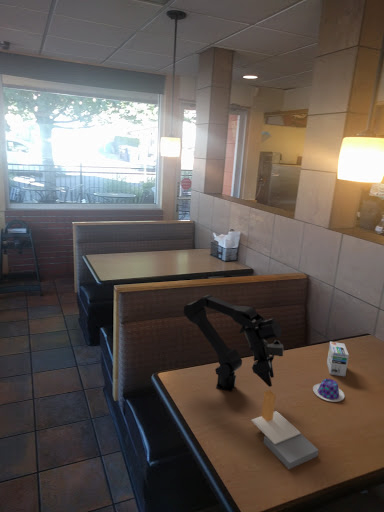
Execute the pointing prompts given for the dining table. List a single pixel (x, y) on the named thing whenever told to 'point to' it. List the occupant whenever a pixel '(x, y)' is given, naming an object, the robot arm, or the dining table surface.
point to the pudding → (328, 390)
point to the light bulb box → (337, 359)
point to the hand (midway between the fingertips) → (271, 381)
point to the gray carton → (292, 450)
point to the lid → (274, 421)
